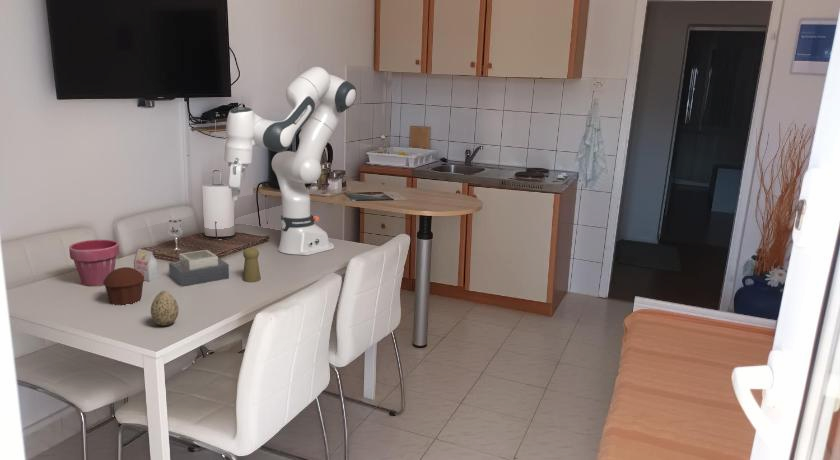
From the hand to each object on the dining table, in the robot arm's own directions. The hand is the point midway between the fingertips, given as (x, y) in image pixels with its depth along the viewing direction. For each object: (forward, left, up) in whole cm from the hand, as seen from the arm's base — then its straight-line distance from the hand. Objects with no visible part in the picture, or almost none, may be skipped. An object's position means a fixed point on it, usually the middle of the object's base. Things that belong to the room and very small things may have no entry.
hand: (235, 197), depth 209 cm
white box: (+27, -12, -28) cm, 41 cm away
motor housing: (+12, -4, -28) cm, 31 cm away
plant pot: (+41, -17, -28) cm, 53 cm away
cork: (-2, +7, -28) cm, 29 cm away
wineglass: (+8, -39, -28) cm, 49 cm away
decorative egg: (+34, +30, -28) cm, 53 cm away
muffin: (+38, +5, -28) cm, 48 cm away
